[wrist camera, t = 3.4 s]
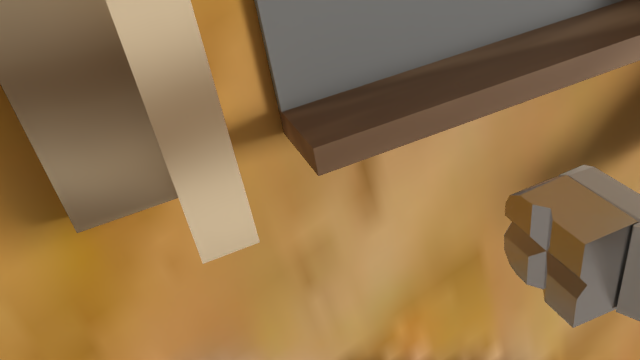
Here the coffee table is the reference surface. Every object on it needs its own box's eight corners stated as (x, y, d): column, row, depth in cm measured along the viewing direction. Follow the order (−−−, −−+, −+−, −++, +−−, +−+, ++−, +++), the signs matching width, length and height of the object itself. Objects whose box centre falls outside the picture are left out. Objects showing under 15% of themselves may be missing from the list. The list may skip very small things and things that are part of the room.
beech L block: (219, 164, 24) (259, 242, 19) (76, 212, 23) (80, 310, 18) (140, -92, 18) (169, -73, 14) (-55, -48, 17) (-101, -11, 12)
